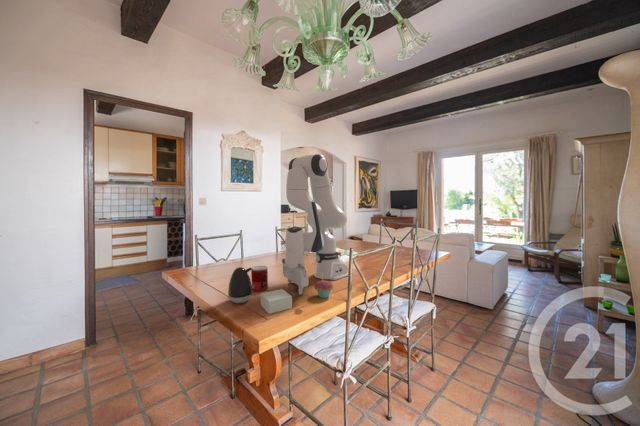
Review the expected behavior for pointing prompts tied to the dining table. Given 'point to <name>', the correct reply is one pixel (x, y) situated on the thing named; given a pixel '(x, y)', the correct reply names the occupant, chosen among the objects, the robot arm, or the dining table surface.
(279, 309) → the pedestal
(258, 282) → the canned food
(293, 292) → the walnut cube
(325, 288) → the cupcake
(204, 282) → the dining table surface
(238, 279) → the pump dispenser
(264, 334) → the dining table surface
